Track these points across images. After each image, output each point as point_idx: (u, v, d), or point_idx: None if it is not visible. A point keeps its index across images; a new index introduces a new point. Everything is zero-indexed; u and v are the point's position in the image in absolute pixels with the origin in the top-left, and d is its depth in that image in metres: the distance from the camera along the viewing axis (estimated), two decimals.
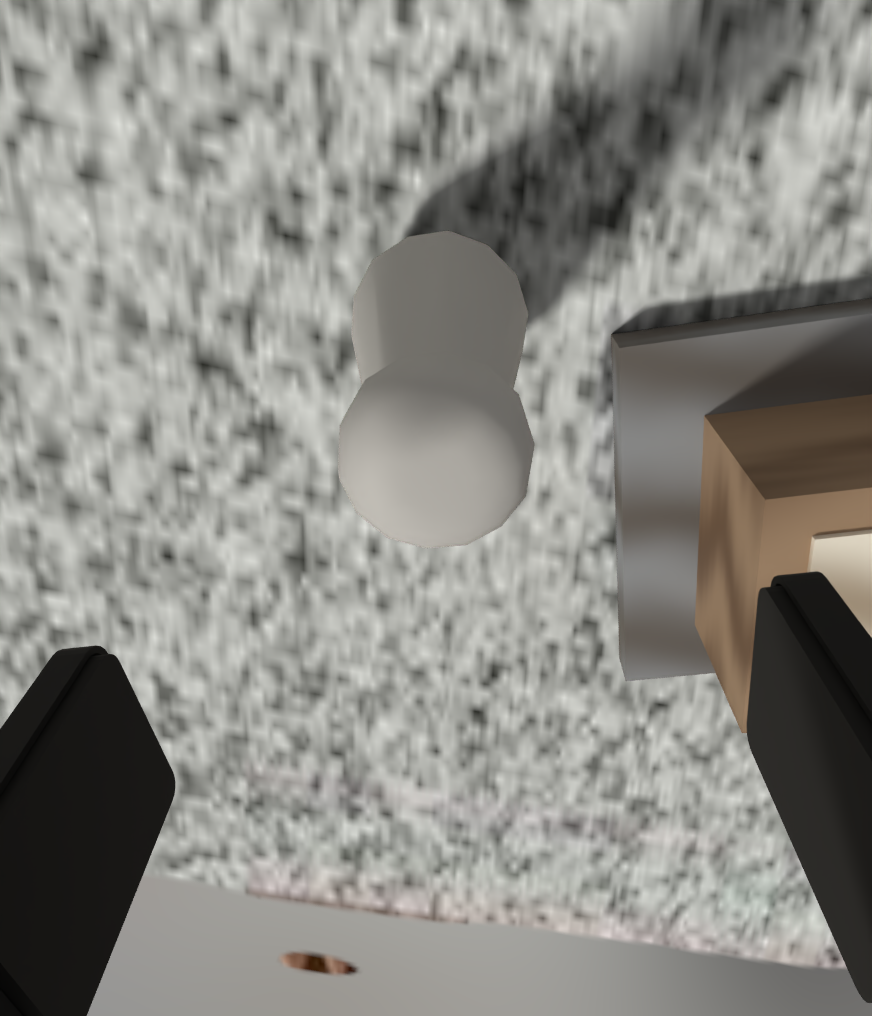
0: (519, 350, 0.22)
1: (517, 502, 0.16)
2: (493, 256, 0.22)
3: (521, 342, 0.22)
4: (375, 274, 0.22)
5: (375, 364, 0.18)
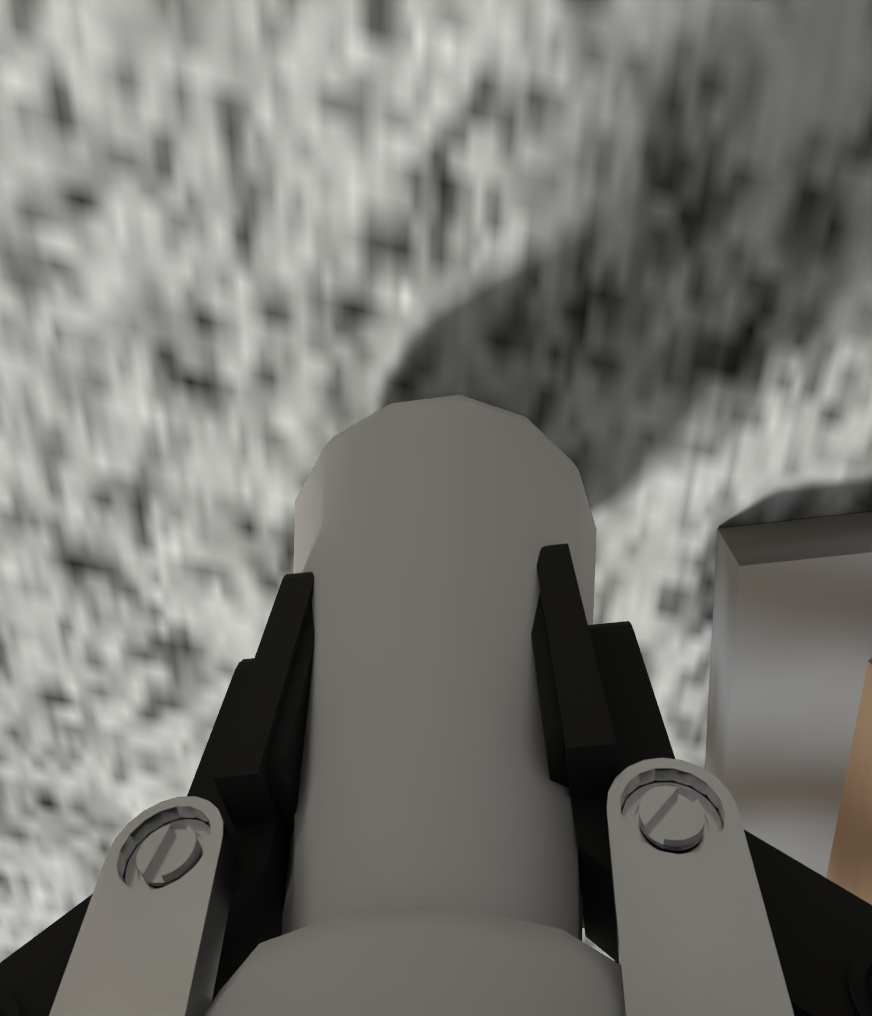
0: None
1: None
2: (539, 446, 0.12)
3: None
4: (325, 486, 0.12)
5: (303, 760, 0.08)
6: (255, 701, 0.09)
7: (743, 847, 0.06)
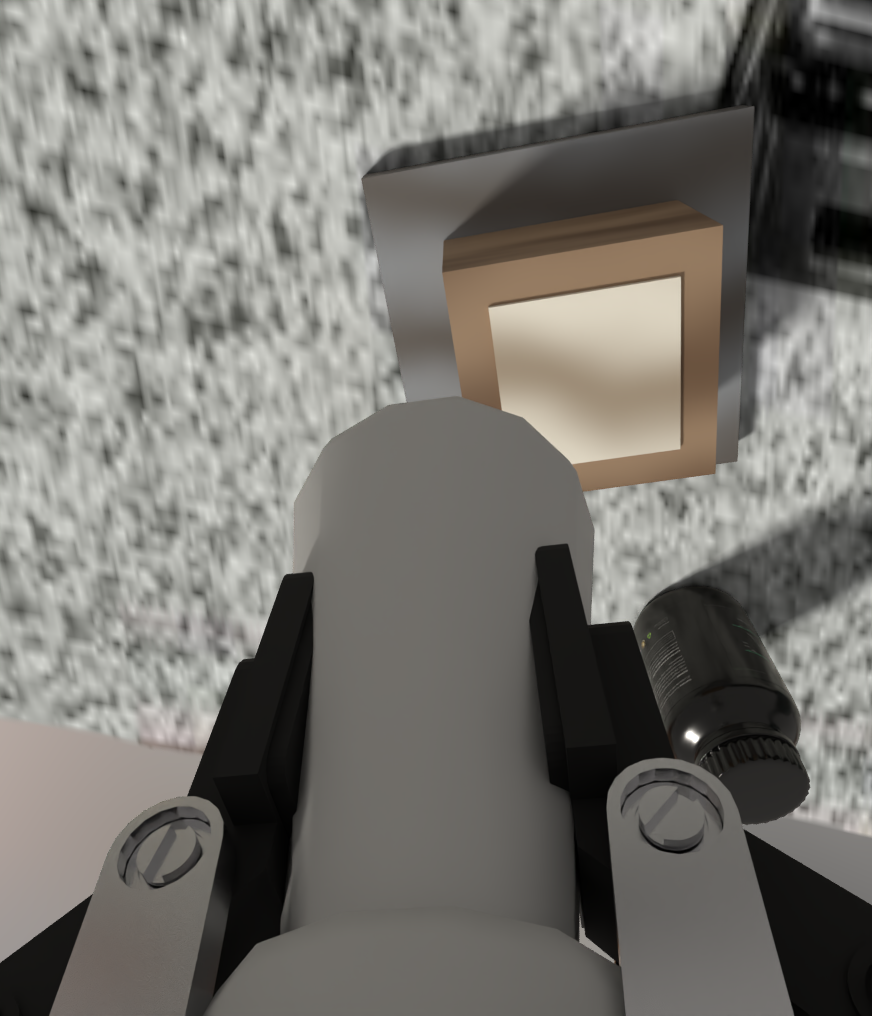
0: None
1: None
2: (537, 447, 0.12)
3: None
4: (324, 488, 0.12)
5: (302, 761, 0.09)
6: (255, 701, 0.09)
7: (743, 847, 0.06)
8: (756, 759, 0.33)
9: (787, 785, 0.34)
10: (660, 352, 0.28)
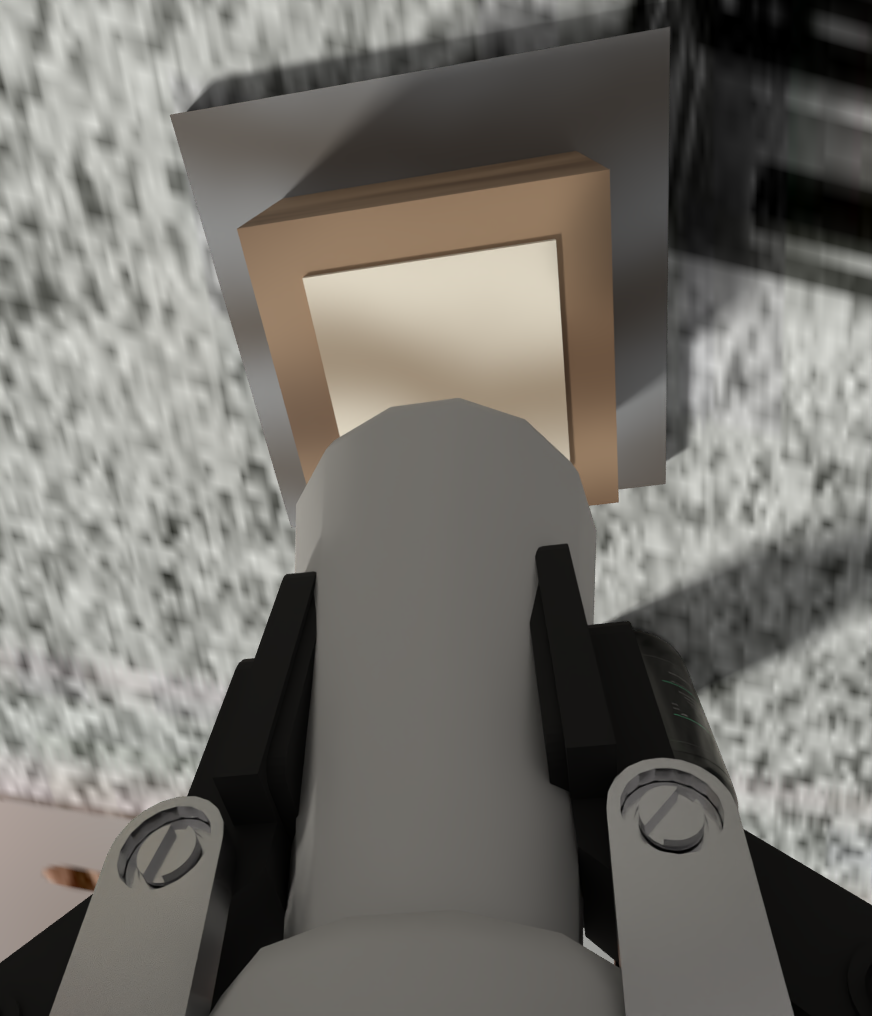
0: None
1: None
2: (539, 449, 0.12)
3: None
4: (326, 490, 0.12)
5: (305, 764, 0.09)
6: (255, 701, 0.09)
7: (743, 847, 0.06)
8: None
9: None
10: (535, 342, 0.21)
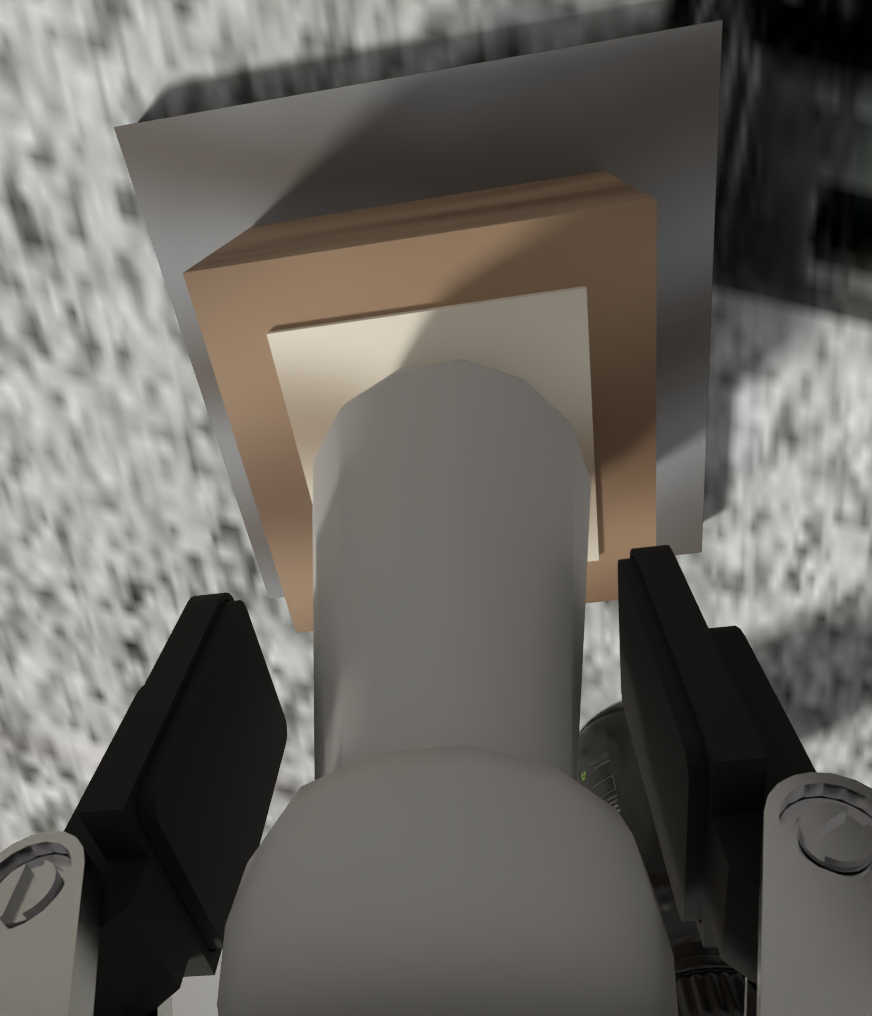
0: None
1: None
2: (536, 404, 0.14)
3: None
4: (342, 442, 0.13)
5: (331, 665, 0.10)
6: (135, 731, 0.08)
7: None
8: (717, 1014, 0.22)
9: None
10: None
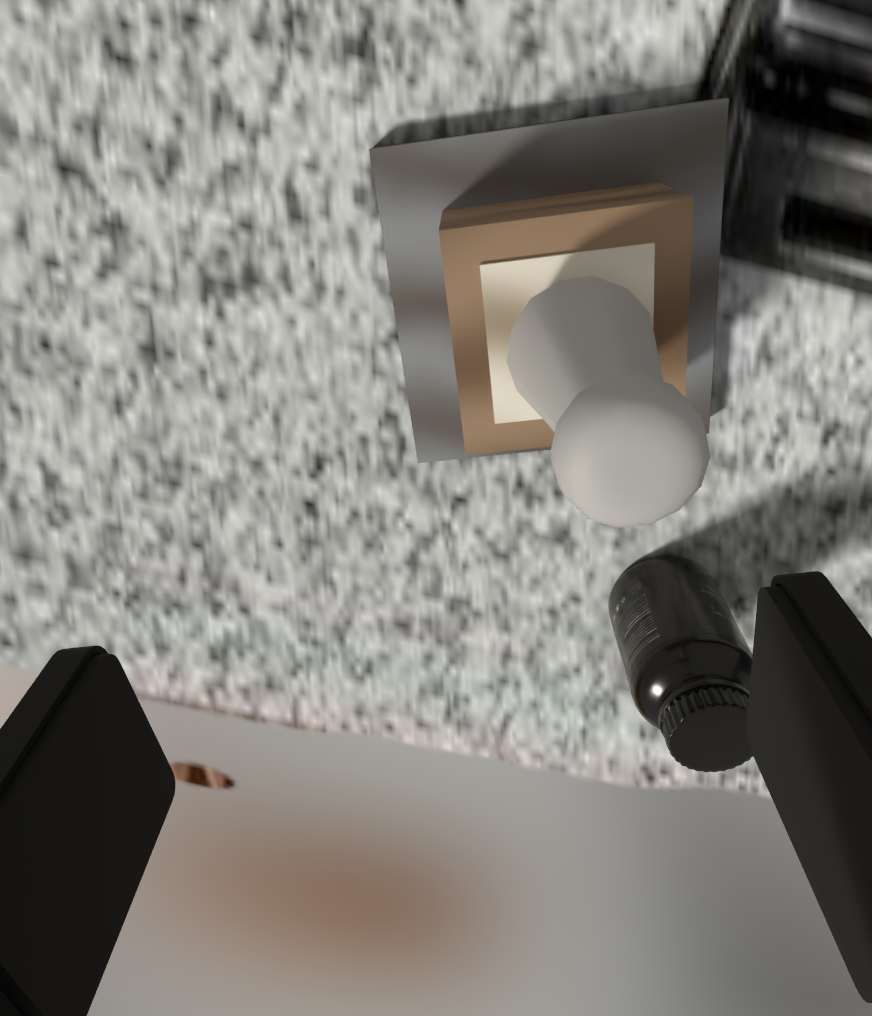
0: None
1: (695, 490, 0.20)
2: (632, 297, 0.27)
3: None
4: (538, 312, 0.27)
5: (561, 384, 0.23)
6: None
7: None
8: (715, 705, 0.35)
9: (744, 732, 0.36)
10: None
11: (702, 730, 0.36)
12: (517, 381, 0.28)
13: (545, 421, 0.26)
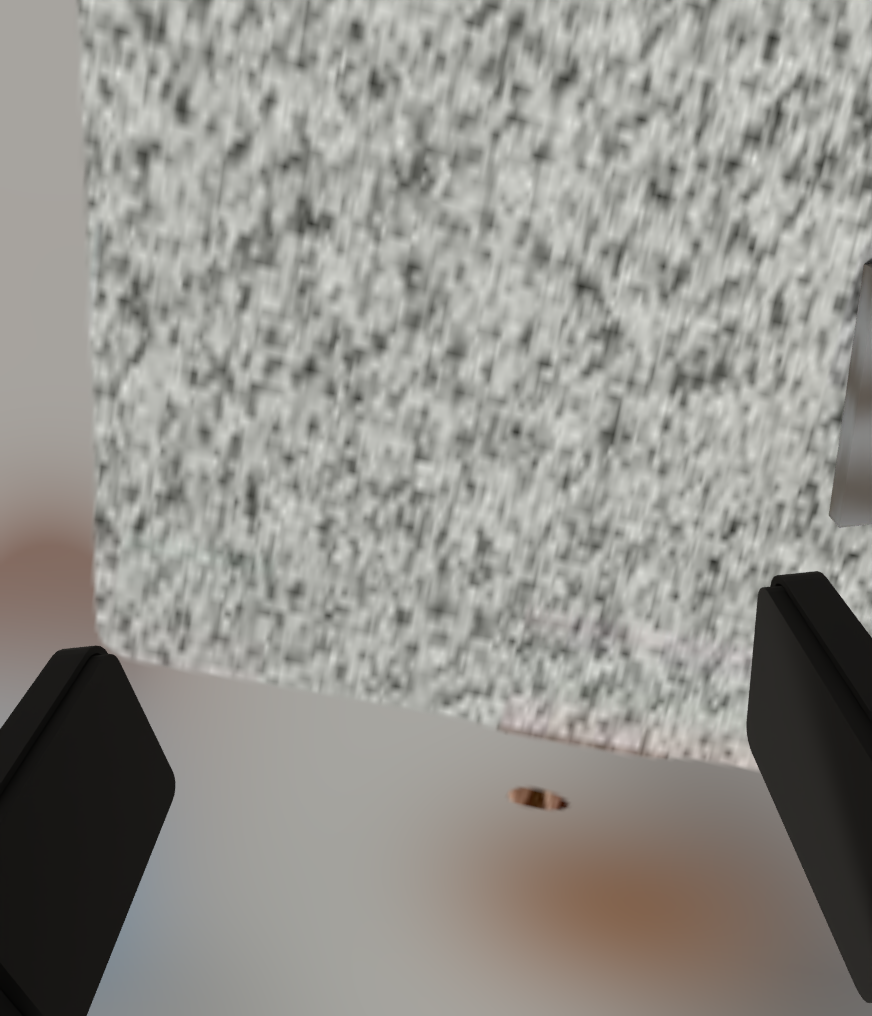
0: None
1: None
2: None
3: None
4: None
5: None
6: None
7: None
8: None
9: None
10: None
11: None
12: None
13: None
